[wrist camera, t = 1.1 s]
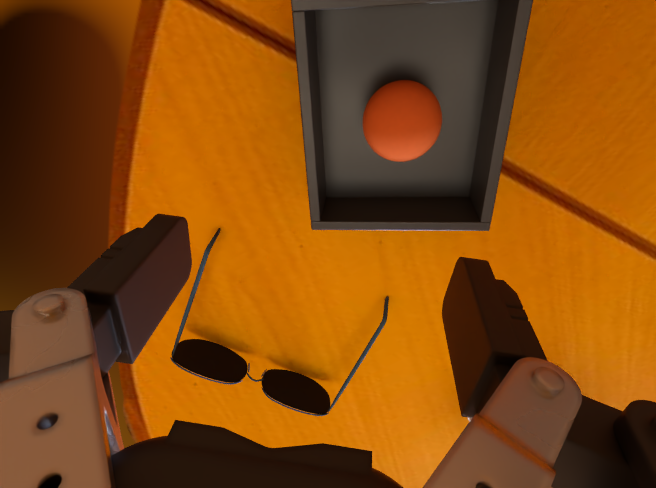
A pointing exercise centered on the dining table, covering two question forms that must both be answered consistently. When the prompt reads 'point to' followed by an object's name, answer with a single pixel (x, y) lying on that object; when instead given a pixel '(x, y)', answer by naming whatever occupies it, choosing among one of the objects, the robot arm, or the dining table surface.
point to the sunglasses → (233, 368)
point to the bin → (420, 66)
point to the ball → (402, 120)
